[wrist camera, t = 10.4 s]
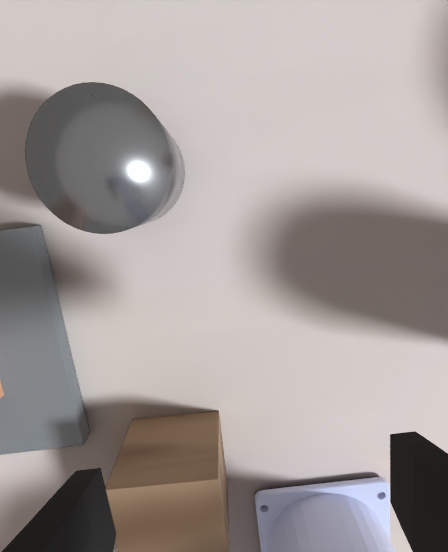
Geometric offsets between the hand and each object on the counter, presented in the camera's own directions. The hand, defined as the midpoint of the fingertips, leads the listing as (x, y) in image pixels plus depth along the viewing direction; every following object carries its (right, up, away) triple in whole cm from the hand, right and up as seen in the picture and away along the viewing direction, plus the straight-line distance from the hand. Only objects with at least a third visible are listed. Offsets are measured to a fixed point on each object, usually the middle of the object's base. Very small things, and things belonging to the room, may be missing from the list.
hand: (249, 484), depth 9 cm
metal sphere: (-5, +10, +8) cm, 14 cm away
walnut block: (-3, -5, +12) cm, 13 cm away
